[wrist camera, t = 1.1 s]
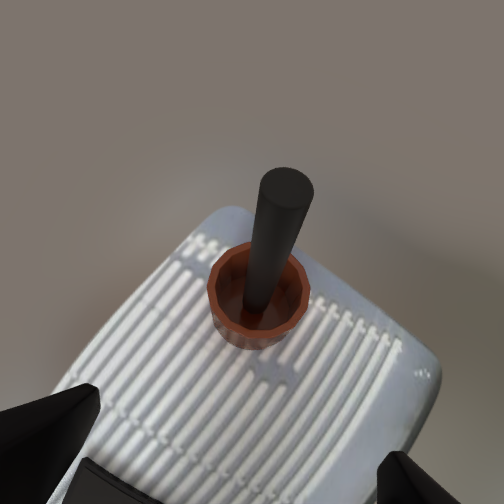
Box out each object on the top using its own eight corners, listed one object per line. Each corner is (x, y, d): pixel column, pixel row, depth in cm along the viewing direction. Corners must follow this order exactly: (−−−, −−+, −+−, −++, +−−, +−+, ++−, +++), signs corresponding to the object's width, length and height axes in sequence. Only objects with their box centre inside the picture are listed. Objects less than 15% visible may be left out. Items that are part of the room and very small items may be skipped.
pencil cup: (274, 364, 21) (287, 355, 16) (196, 327, 22) (188, 308, 17) (305, 292, 24) (324, 266, 19) (233, 259, 24) (235, 227, 20)
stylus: (259, 323, 22) (304, 217, 9) (237, 313, 22) (251, 194, 9) (269, 302, 22) (321, 179, 10) (247, 292, 23) (273, 159, 10)
